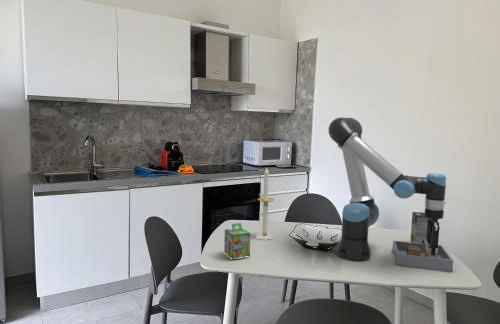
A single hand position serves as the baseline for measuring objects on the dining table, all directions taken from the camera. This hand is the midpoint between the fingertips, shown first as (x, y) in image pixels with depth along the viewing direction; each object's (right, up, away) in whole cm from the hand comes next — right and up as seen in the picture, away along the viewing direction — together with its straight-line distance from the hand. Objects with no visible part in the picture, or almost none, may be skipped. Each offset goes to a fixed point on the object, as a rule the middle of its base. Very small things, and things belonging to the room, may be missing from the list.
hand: (430, 259), depth 166 cm
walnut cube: (-7, 0, +2) cm, 7 cm away
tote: (-4, -1, +1) cm, 4 cm away
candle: (-73, +4, +29) cm, 79 cm away
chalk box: (-87, +1, +2) cm, 87 cm away
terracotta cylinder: (0, 0, 0) cm, 0 cm away
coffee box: (+5, +1, +23) cm, 23 cm away
